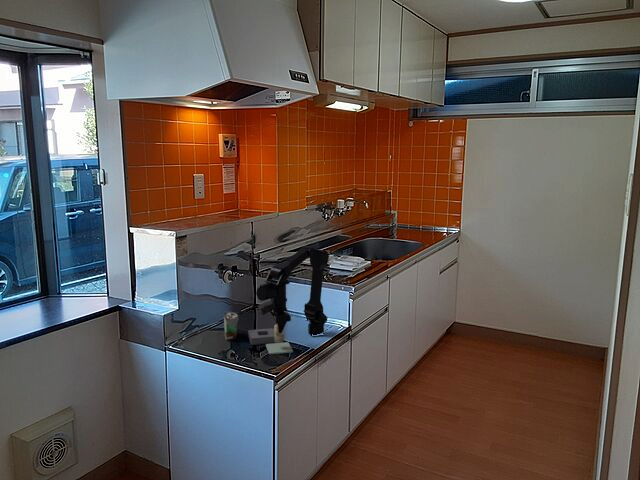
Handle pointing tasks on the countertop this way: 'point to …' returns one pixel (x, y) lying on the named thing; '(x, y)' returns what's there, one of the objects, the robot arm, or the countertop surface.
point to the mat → (279, 348)
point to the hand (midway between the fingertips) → (279, 330)
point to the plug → (278, 335)
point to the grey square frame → (261, 336)
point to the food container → (230, 325)
